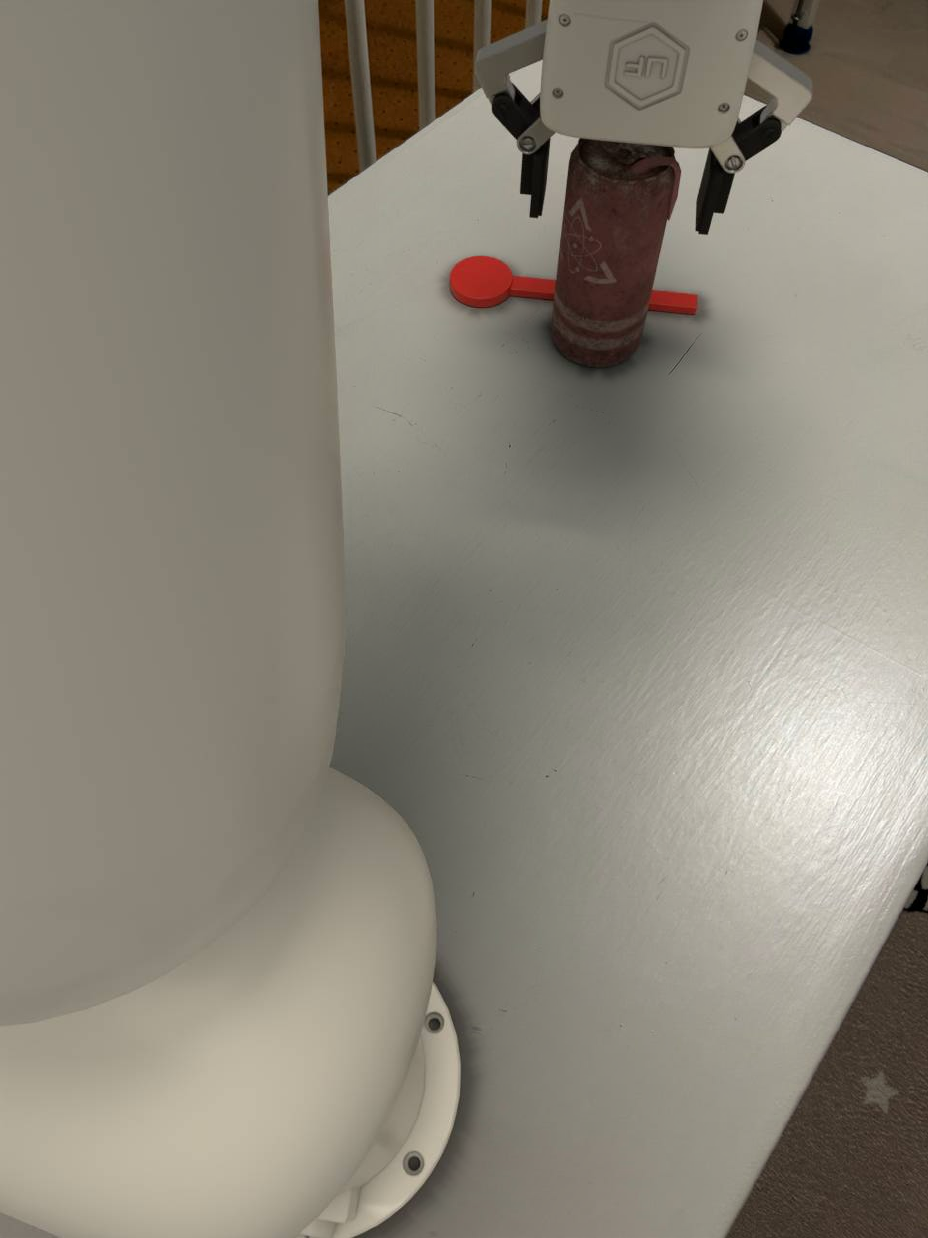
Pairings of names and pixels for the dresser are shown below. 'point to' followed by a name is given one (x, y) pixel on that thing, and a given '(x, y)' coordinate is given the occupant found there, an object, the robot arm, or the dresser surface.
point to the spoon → (532, 287)
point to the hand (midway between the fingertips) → (619, 210)
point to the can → (610, 247)
